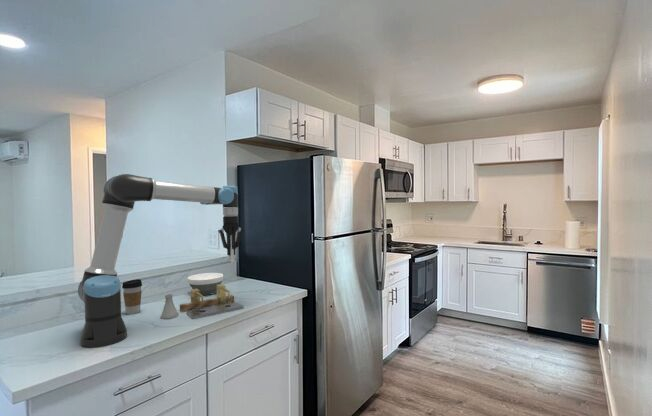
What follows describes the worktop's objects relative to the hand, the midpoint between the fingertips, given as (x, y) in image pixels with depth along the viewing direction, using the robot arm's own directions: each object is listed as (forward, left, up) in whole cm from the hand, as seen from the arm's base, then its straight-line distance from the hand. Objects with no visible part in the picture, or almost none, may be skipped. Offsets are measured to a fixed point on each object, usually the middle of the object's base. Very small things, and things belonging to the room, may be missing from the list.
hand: (231, 261), depth 183 cm
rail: (-13, -4, -21) cm, 25 cm away
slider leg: (-6, -4, -20) cm, 21 cm away
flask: (-32, -5, -21) cm, 38 cm away
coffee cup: (-44, +14, -21) cm, 50 cm away
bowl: (-5, +28, -21) cm, 35 cm away
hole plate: (-13, -11, -21) cm, 27 cm away
